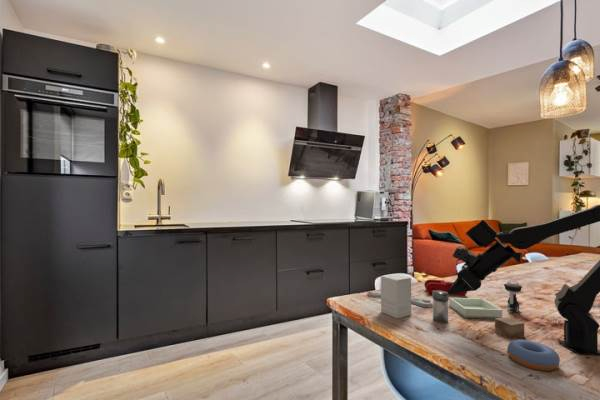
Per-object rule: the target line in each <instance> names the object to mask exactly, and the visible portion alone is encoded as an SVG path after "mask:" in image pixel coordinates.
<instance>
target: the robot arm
mask: <svg viewBox="0 0 600 400" xmlns="http://www.w3.org/2000/svg"><path fill="white" fill-rule="evenodd" d="M595 223H600V204H596V205H593V206H592V207H590V208H589V207H588V208H587V209H584V210H580V211H577V212H573V213H572V214H568V215H565V216H562V217H559V218H556V219H553V220H551V221H547V222H544V223H540V224H539V223H538V224H532V225H527V226H521V227H515V228H513V229H511V230H510V231H504V232H503V231H499V232H497V230H495V229H494V228H493V227H492V226H490V224H489V223H488V222H487V221H486V220H485V219H482V220H480V222H478V223H477V224H476V225H474V226H472V227H471V228H470V229H468V230H467V231H466V232H465V233H464V235H466V237H468V238H469V239H470V241H472V242H473V243H474V244H475V245H476V246H477V247H478V248H481V247H482V248H487V247H488V248H487V249H486V250H485V251H483V252H480V253H478V254H474V253H473V252H471V251H469V249H465V248H464V247H461V246H460V245H459V246H457V247H456V248H455V250H454V252H453V253H452V257H453V258H454V259H458V260H459V261H461V262H463V265H462V266H461V269H460V270H459V271H458V272H457V273H456V275H457V278H456V279H455V280H454V281H453V282H454V283H453V284H452V285H451V286H452V287H451V288H450V289H449V290H448V291H447V292H448V294H449V296H452V295H451V294H456V293H461V292H467V293H468V292H473V291H474V292H475V291H478V290H479V289H480V288H481V287H482V281H484V280H486V278H487V277H488V276H489V275H491V274H492V273H495V272H497V271H498V269H499V268H500V267H502V266H503V265H504V264H506V263H508V262H509V261H510V260H512V259H514V260H515V261H516V262H517V263H521V261H522V260H521V256H522V252H521V251H516V250H515V249H517V250H527V249H529V248H531V247H533V246H535V245H537V244H539V243H541V242H543V241H544V240H546V239H549V238H550V237H553V236H556V235H559V234H564V233H566V232H569V231H573V230H576V229H579V228H582V227H585V226H589V225H592V224H595ZM494 242H495V243H494ZM492 243H494V244H493V245H491V244H492ZM503 243H508V244H506V245H504V244H503ZM509 244H510V245H511V246H512V247H513V248H512V247H511V246H510V245H509ZM490 245H491V246H490ZM514 248H515V249H514ZM599 293H600V259H599V260H597V262H596V263H595V264H594V265H593V266H592V267H591V269H590V270H589V271H588V272H587V273H586V274H585V275H584V276H583V277H582V278H581V279H580V280H579V281H578V282H577V283H576V284H574V285H572V286H569V285H568V284H566V283H564V284H563V286H561V289H560V290H559V291H558V292H556V293H554V296H555V297H554V305H555V308H556V310H557V311H558V313H559V315H560V316H561V317H562V318H564V319H565V320H564V321H563V322H564V323H563V324H564V325H563V340H558V343H559V344H560V345H561V346H564V347H565V348H567V349H568V350H570V351H572V352H574V353H576V354H577V355H578V354H579V355H599V356H600V349H599V348H598V347H599V345H598V343H599V342H598V340H599V337H598V335H599V334H598V330H599V328H600V324H599V323H598V321H597V320H596V319H595V318H594V316H593V315H592V313H590V312H591V310H592V308H593V306H594V303H595V300H596V297H597V296H598V294H599Z"/></svg>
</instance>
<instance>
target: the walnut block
mask: <svg viewBox="0 0 600 400" xmlns="http://www.w3.org/2000/svg"><path fill="white" fill-rule="evenodd" d="M494 332H495V333H497V334H499V335H502V336H504V337H506V338H508V339H511V340H515V339H518V338H519V339H520V338H525V322H522V321H520V320H517V319H514V318H512V317H509V316H505V317H503V316H502V318H496V319H494Z"/></svg>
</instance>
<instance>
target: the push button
mask: <svg viewBox="0 0 600 400" xmlns="http://www.w3.org/2000/svg"><path fill="white" fill-rule="evenodd" d="M503 286H504V289H505V290H506V292H508V293H509V297H508V299H507V312H508V313H512V314H514V312H515V313H518V312H520V302H519V301H518V298H517V293H520V292H522V289H523V286H522V285H520V283H519V282H515V281H507V282H506V283H504V284H503Z"/></svg>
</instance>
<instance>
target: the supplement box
mask: <svg viewBox="0 0 600 400" xmlns="http://www.w3.org/2000/svg"><path fill="white" fill-rule="evenodd" d="M380 294H381V298H380V312H381V313H383V314H386V315H388V316H390V317H393V318H395V319H400V318H404V317H408V316H411V315H412V303H411V298H412V278H411V277H409V276H404V275H401V274H396V273H393V274H386V275H381V276H380Z"/></svg>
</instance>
